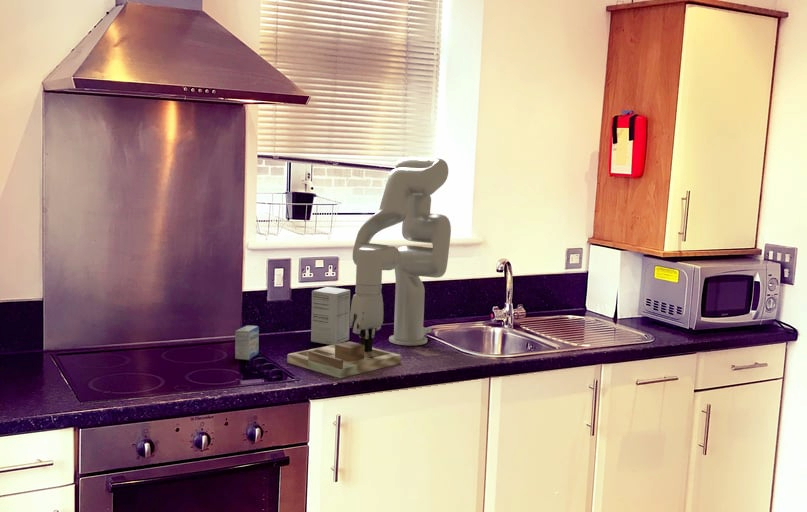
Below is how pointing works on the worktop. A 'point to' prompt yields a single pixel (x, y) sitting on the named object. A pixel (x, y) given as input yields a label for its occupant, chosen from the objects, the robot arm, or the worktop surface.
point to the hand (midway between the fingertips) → (366, 350)
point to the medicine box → (246, 342)
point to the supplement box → (330, 315)
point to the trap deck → (342, 361)
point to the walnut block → (349, 351)
